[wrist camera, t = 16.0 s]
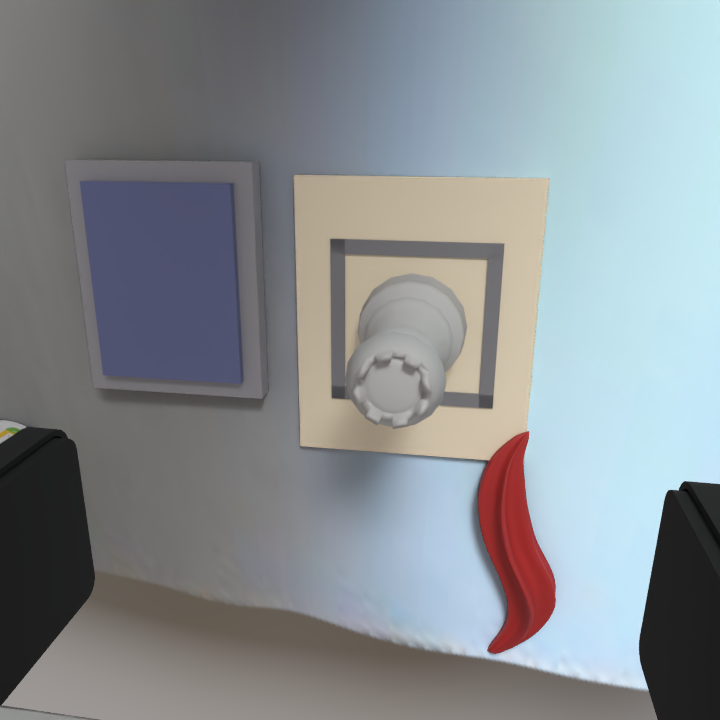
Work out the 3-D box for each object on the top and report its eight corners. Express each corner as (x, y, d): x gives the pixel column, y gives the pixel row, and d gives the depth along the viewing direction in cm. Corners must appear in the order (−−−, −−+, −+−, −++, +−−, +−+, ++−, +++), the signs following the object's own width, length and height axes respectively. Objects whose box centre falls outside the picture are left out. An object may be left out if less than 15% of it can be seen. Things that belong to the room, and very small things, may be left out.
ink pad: (77, 159, 29) (58, 160, 28) (259, 161, 28) (248, 162, 26) (104, 380, 32) (88, 390, 31) (268, 390, 31) (259, 402, 29)
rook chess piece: (414, 394, 29) (394, 482, 22) (339, 323, 29) (292, 389, 21) (490, 324, 28) (496, 393, 20) (412, 248, 27) (388, 290, 20)
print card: (295, 174, 28) (292, 175, 27) (548, 178, 26) (549, 179, 26) (302, 443, 31) (300, 447, 31) (523, 459, 30) (523, 463, 29)
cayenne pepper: (534, 660, 33) (538, 692, 31) (440, 639, 33) (439, 669, 32) (602, 445, 29) (612, 467, 27) (494, 424, 29) (496, 444, 27)
